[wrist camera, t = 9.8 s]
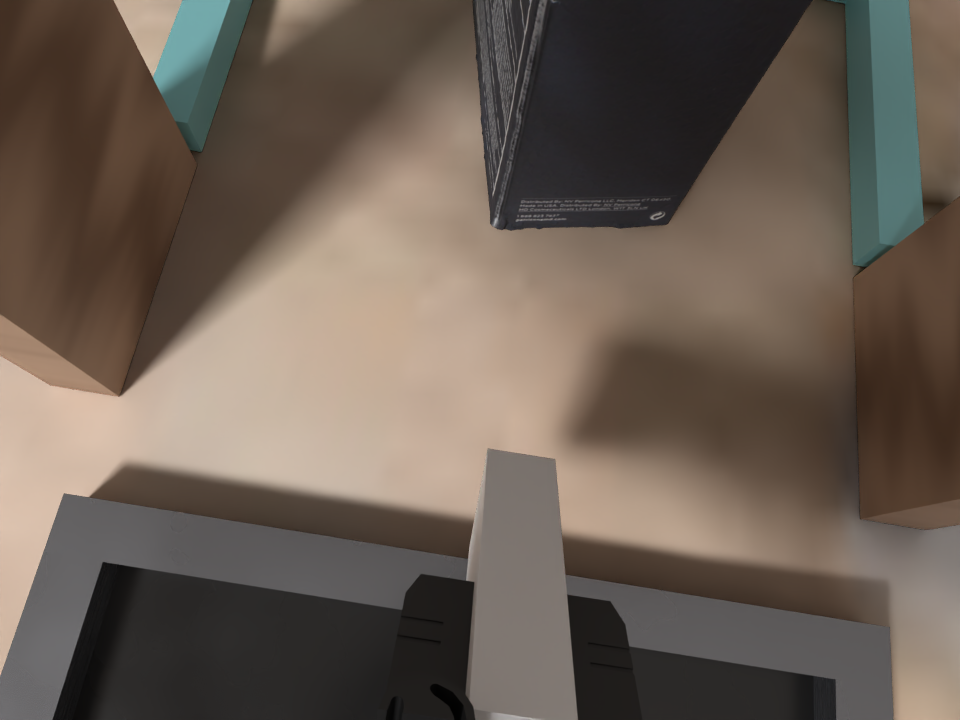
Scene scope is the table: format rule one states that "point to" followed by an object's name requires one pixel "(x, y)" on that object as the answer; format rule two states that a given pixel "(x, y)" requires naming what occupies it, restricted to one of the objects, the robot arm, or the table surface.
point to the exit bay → (871, 105)
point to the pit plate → (361, 631)
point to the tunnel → (164, 187)
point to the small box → (613, 101)
